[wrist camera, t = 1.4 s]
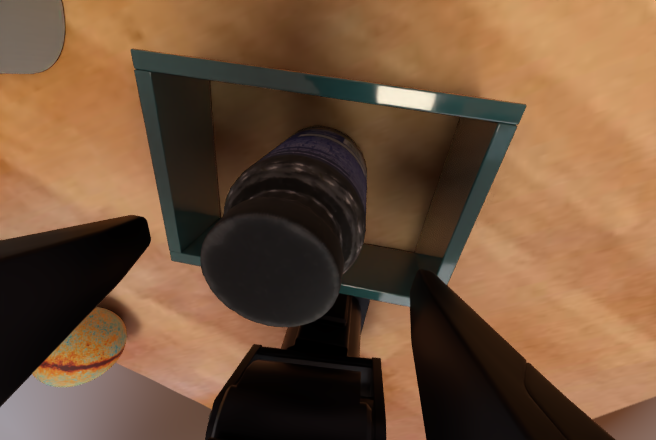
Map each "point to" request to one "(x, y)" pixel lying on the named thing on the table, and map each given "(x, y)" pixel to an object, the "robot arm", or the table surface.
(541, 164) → the table surface
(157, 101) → the teal open box
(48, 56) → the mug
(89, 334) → the ball
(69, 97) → the table surface
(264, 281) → the pill bottle
